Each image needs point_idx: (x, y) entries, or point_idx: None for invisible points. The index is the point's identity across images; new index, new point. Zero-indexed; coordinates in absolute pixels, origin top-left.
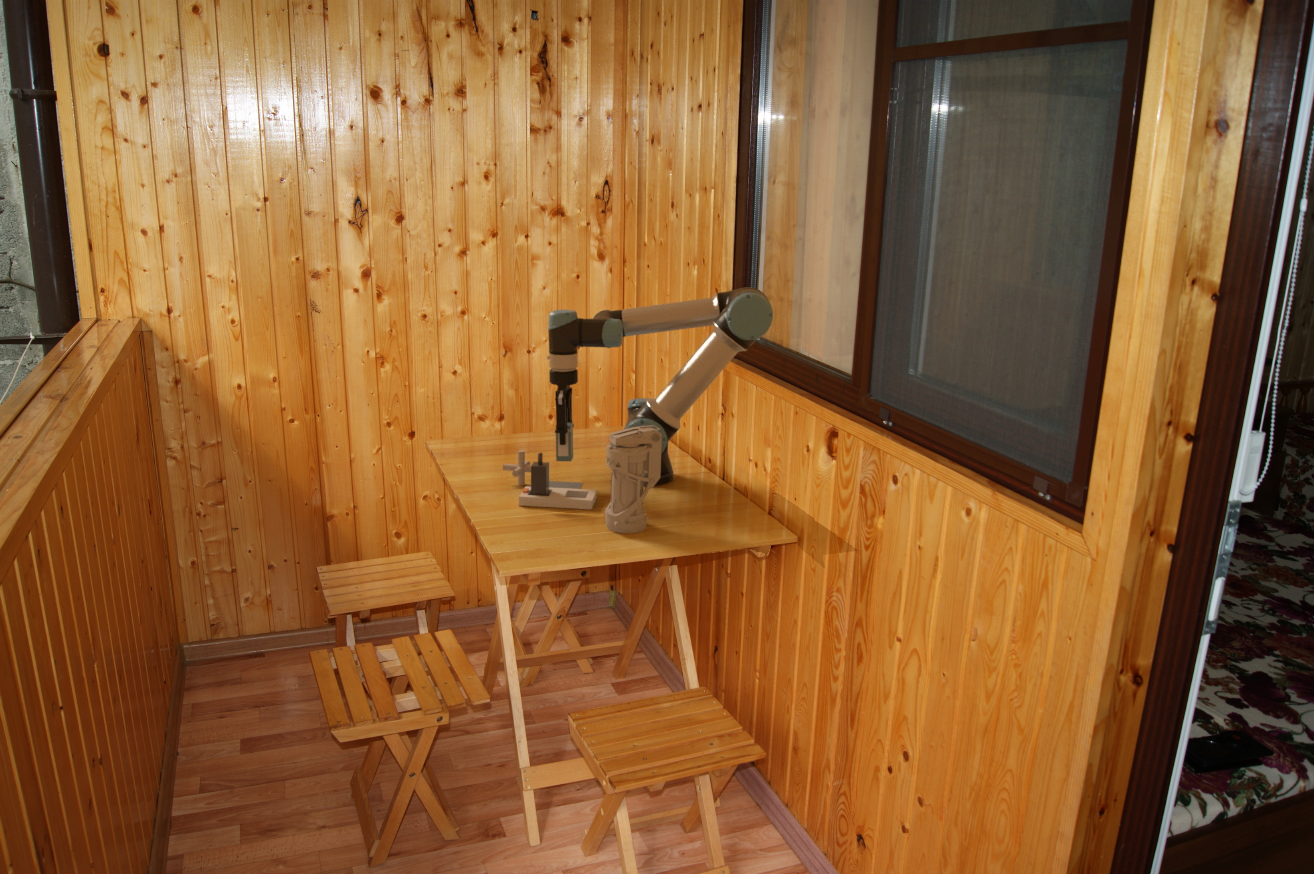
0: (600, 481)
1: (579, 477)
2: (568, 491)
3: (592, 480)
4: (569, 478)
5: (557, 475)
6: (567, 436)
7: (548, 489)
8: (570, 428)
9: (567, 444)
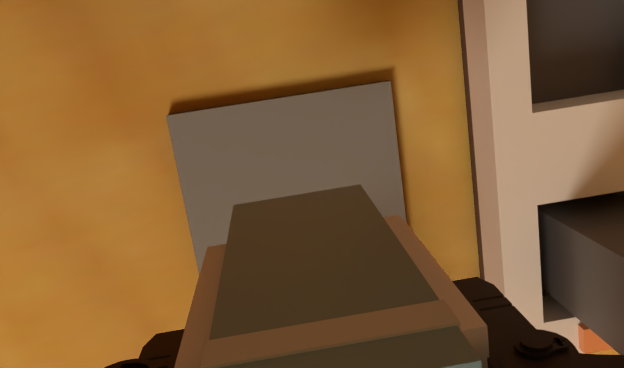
0: (62, 24)
1: (36, 178)
2: (527, 106)
3: (63, 81)
4: (82, 229)
5: (54, 312)
6: (466, 305)
7: (580, 219)
8: (459, 332)
9: (435, 262)
